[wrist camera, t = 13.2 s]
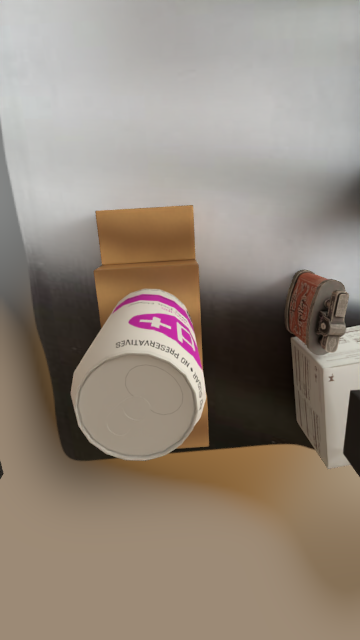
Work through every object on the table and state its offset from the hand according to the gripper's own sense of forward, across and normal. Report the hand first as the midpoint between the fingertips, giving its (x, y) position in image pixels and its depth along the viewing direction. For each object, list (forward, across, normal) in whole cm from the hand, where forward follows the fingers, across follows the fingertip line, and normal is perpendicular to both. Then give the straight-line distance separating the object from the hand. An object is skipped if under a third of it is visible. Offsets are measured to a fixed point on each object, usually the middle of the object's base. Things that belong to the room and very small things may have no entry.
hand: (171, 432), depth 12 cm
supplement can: (+21, -2, -3) cm, 22 cm away
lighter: (+29, +16, -3) cm, 33 cm away
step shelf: (+29, -2, -3) cm, 29 cm away
